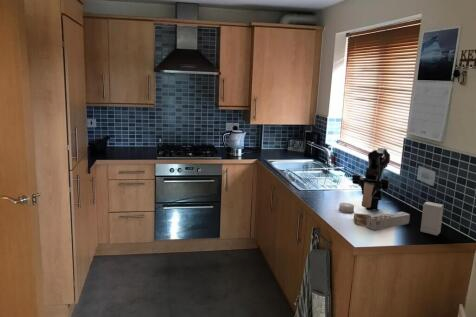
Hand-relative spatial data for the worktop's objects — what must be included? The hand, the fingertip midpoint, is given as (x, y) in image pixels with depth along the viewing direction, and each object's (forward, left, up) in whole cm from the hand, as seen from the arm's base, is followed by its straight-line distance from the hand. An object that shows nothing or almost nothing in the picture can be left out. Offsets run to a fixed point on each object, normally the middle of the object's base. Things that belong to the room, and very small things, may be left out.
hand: (367, 194), depth 215 cm
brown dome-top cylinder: (0, -1, -7) cm, 7 cm away
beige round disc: (+8, -13, -14) cm, 21 cm away
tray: (+1, +4, -14) cm, 14 cm away
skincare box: (-31, +8, -14) cm, 35 cm away
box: (-11, +4, -14) cm, 19 cm away
